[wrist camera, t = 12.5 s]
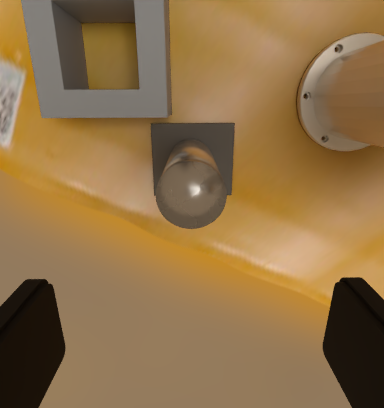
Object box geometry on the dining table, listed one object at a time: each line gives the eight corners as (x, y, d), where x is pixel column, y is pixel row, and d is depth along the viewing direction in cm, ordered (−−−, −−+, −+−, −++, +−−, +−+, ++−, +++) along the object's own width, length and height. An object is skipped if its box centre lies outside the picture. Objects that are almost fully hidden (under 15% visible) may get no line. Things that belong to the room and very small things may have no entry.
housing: (168, -6, 29) (162, -37, 23) (171, 114, 33) (167, 117, 27) (53, -5, 29) (14, -37, 23) (70, 115, 33) (41, 118, 27)
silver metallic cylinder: (213, 138, 34) (228, 161, 21) (212, 182, 36) (225, 228, 23) (168, 138, 34) (154, 161, 21) (169, 182, 36) (157, 228, 23)
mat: (234, 123, 34) (234, 123, 33) (230, 194, 37) (231, 195, 36) (151, 123, 34) (150, 123, 33) (154, 194, 37) (154, 195, 36)
